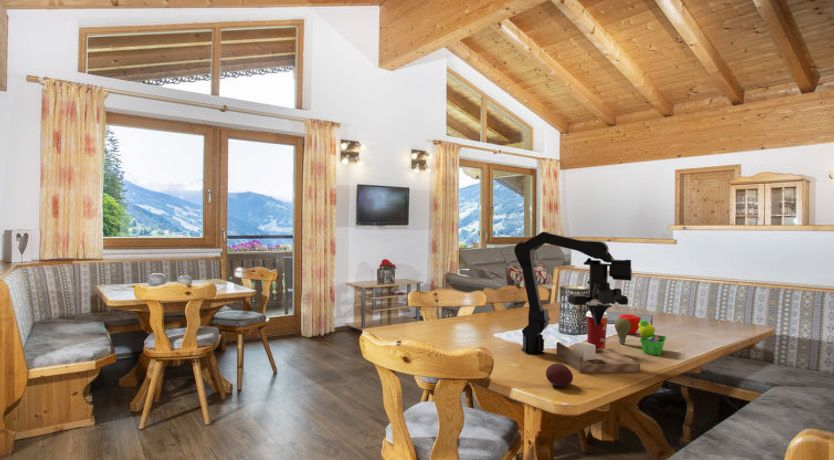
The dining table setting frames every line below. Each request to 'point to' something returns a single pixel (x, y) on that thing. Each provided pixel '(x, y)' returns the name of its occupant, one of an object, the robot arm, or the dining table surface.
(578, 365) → the trap board
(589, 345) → the block
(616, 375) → the dining table surface
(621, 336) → the light bulb
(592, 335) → the paper cup
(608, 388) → the dining table surface
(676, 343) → the dining table surface
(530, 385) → the dining table surface
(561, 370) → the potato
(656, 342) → the fruit basket
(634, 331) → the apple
